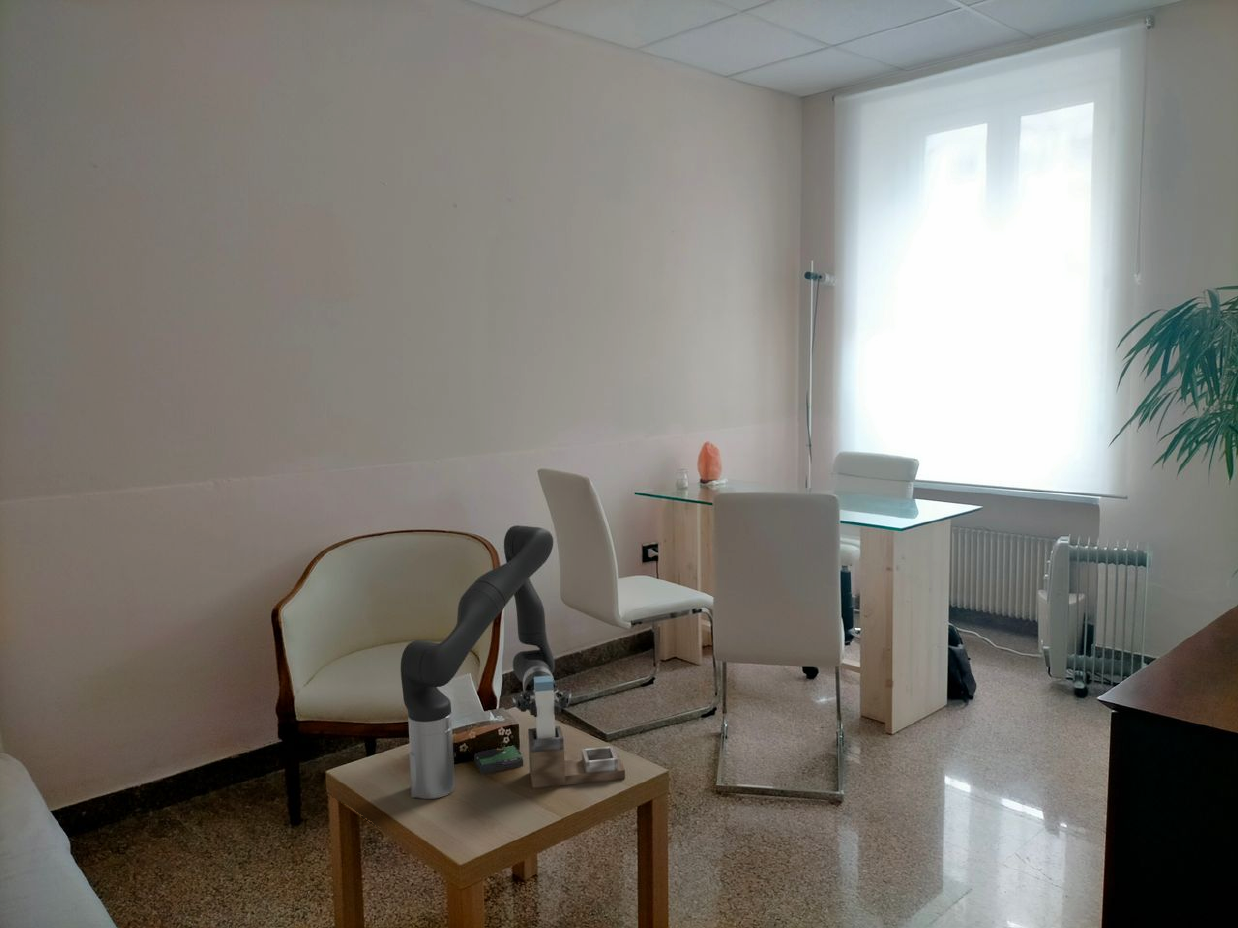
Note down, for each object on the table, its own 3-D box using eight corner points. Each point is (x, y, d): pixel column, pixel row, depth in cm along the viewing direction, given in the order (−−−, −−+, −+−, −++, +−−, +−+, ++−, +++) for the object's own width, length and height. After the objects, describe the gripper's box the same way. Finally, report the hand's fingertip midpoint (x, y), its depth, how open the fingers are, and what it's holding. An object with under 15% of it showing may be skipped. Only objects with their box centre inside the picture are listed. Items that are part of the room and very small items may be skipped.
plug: (537, 748, 206) (535, 682, 205) (536, 741, 210) (533, 676, 209) (555, 746, 207) (553, 681, 205) (554, 739, 211) (551, 675, 209)
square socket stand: (532, 787, 205) (530, 741, 204) (529, 772, 213) (528, 727, 212) (625, 778, 208) (623, 733, 207) (619, 763, 216) (617, 719, 215)
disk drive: (466, 752, 226) (481, 776, 213) (465, 741, 226) (480, 764, 213) (507, 744, 230) (524, 767, 217) (506, 733, 230) (524, 755, 216)
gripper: (508, 672, 220) (512, 698, 203) (568, 667, 223) (577, 692, 206) (509, 703, 221) (514, 731, 204) (569, 698, 223) (578, 725, 207)
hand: (545, 711), depth 205 cm, fingers closed on plug, 4 cm apart
